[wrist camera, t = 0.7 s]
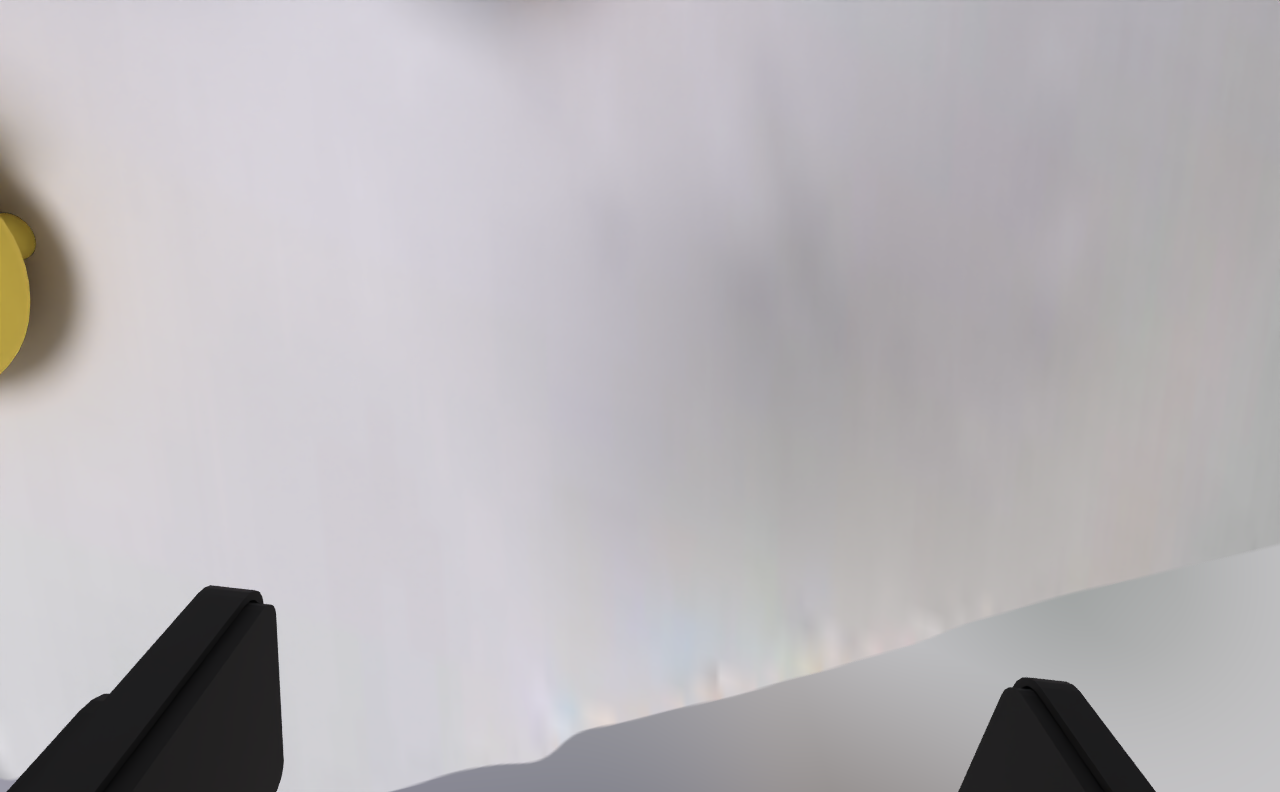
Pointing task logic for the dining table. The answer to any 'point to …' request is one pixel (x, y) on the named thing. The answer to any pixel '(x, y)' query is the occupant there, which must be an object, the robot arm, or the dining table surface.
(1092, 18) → the dining table surface
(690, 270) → the dining table surface
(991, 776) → the robot arm
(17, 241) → the teapot
